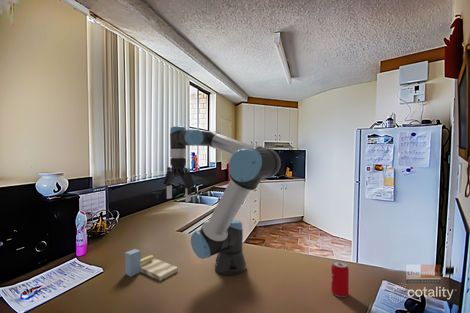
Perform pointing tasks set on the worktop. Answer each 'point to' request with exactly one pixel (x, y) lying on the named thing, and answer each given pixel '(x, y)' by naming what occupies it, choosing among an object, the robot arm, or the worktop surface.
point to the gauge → (135, 262)
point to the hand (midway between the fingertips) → (178, 199)
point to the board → (158, 269)
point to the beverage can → (340, 279)
